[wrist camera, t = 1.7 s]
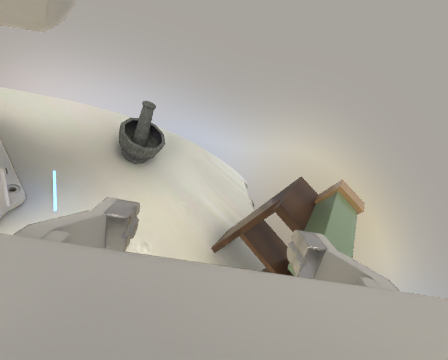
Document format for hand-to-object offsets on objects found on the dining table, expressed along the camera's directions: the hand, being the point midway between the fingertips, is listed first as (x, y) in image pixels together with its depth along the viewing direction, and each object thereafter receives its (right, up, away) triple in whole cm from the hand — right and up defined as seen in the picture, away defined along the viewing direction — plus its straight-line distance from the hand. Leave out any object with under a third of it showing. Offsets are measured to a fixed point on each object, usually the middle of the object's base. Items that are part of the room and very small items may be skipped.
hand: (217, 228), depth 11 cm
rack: (+3, -18, +38) cm, 42 cm away
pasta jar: (+14, -6, +21) cm, 26 cm away
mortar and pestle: (-21, +9, +42) cm, 48 cm away
